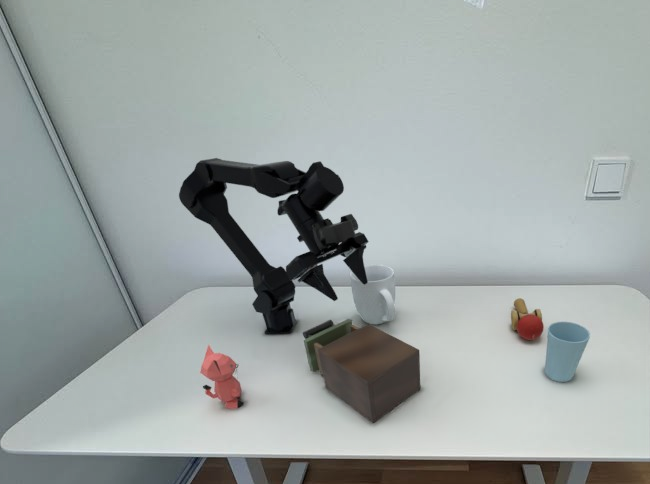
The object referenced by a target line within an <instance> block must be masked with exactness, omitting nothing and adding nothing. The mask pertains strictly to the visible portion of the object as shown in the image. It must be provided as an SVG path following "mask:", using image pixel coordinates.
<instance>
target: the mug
mask: <svg viewBox="0 0 650 484" xmlns="http://www.w3.org/2000/svg"><path fill="white" fill-rule="evenodd" d="M364 267H365V272H366V276H367V281H368V283H367V284H365V285H364V284H363V283H362V282H361V281H360V280H359V279H358V278H357V277H356V275H355V274H354V273H353V272H352V271H351V270H350V272H349V280H350V281H349V282H350V288H351V294H352V299H353V303H354V305H355V306H354V307H355V308H356V312H357V313H358V315H359V317H360V319H362V320H363V321H364V322H365V323H366V324H370V325H381V324H385V323H386V322H391V321H394V320H395V318H396V307H395V304H396V280H395V279H396V277H395V271H394V269H393V268H392V267H390V266H388V265H386V264H378V263H377V264H375V263H372V264H364Z"/></svg>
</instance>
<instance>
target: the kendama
mask: <svg viewBox="0 0 650 484" xmlns="http://www.w3.org/2000/svg"><path fill="white" fill-rule="evenodd" d="M513 307H514V308H515V310H511V312H510V321H511V327H512V330H513V331H517V333H518V335H519V336H520V337H521V338H522V339H524V340H527V341H534V340H537V339H538V338H539V337H540V336H542V334H543V332H544V327H545V326H544V323H543V322H544V321H543V313H542V310H541V309H540V308H535V309H534V310H533V311H532V312H529V311H528V308H527V305H526V302H525V300H524V299H523V298H520V297H518V298H515V300H514V301H513Z"/></svg>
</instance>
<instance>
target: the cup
mask: <svg viewBox="0 0 650 484" xmlns="http://www.w3.org/2000/svg"><path fill="white" fill-rule="evenodd" d="M546 334H547V335H546V338H547V339H546V351H545V366H544V367H545V368H544V373H545V375H546V377H547V378H548V379H550V380H552V381H555V382H558V383H567V382H569V381H571V380H572V379H573V378H574V375H575V373H576V371H577V368H578V366H579V364H580V361H581V359H582V357H583V354H584V352H585V350H586V347H587V345H588V343H589V340H590V338H591V332H590V331H589V330H588V329H587V328H586V327H585V326H583V325H580V324H579V323H576V322H571V321H556V322H553V323H551V324H550V325H548V327H547V333H546Z"/></svg>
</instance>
